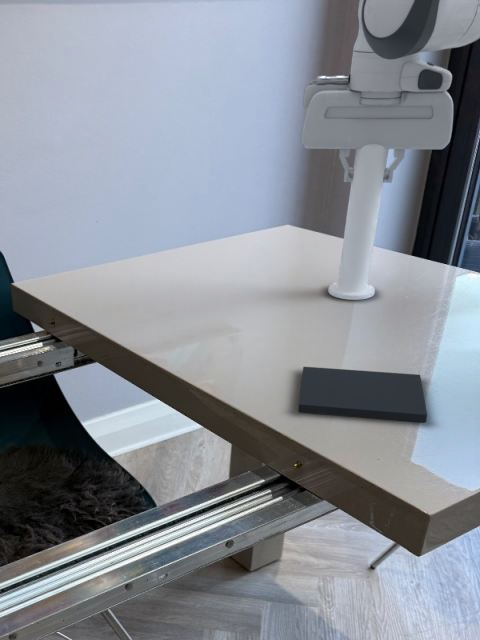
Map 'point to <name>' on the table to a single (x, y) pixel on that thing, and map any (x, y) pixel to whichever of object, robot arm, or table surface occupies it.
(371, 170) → the candle
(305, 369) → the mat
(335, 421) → the table surface
